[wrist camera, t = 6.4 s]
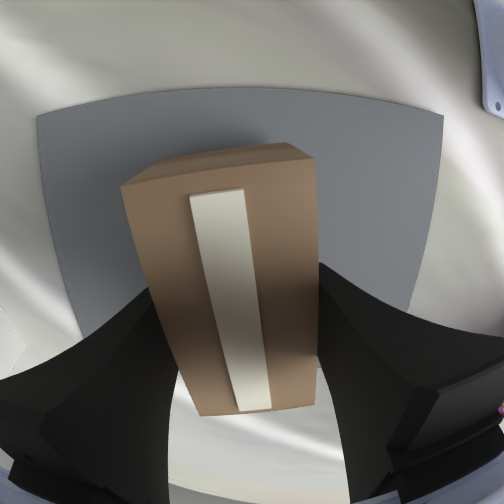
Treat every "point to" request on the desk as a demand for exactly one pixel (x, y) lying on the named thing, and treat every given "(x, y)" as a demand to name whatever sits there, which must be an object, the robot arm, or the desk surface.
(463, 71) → the desk surface
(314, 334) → the brown box with strip
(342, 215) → the rubber mat
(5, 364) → the white cube
